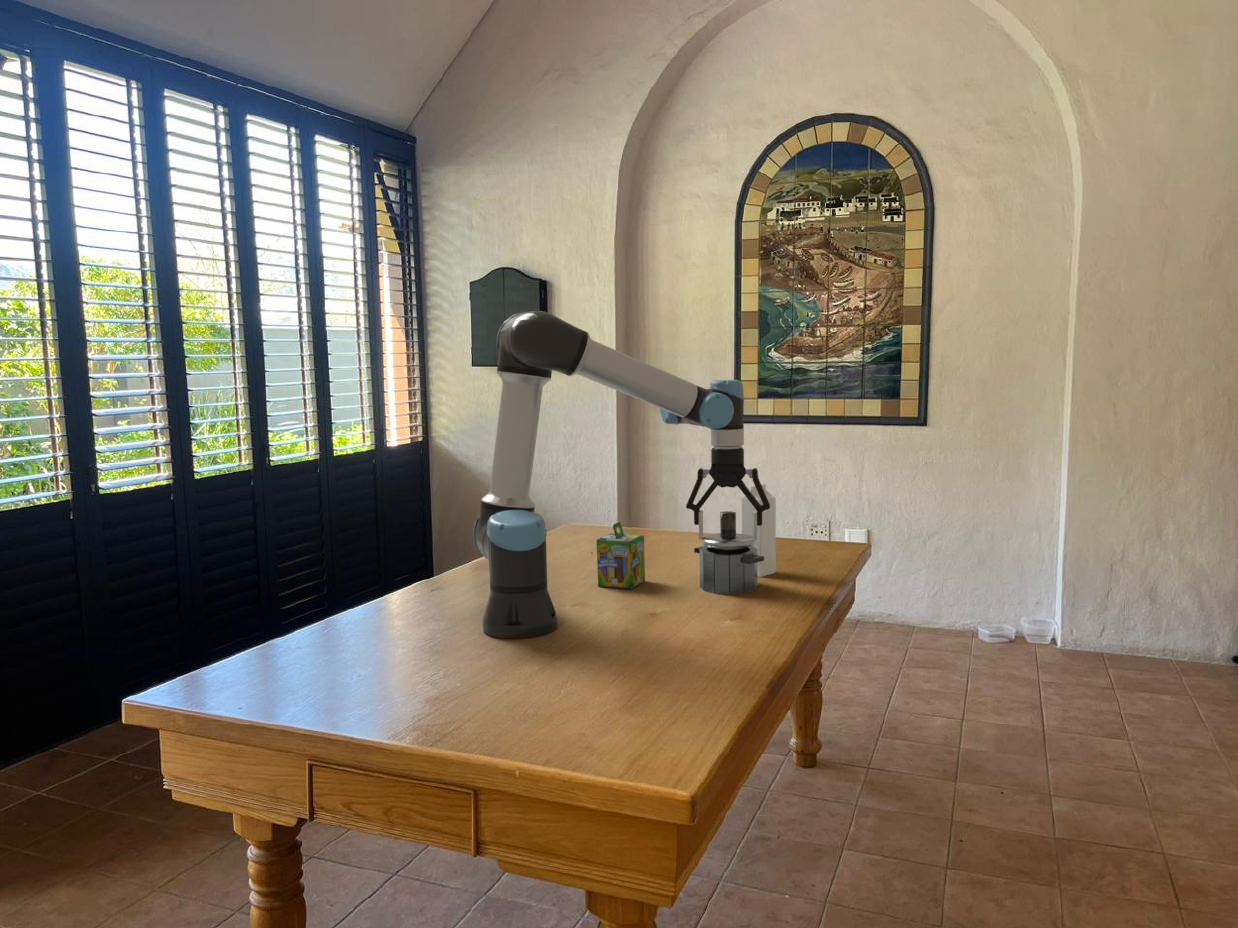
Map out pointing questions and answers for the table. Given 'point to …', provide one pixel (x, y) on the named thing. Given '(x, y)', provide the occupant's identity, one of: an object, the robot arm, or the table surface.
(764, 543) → the milk
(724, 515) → the lid
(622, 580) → the chalk box
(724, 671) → the table surface
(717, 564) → the pot
